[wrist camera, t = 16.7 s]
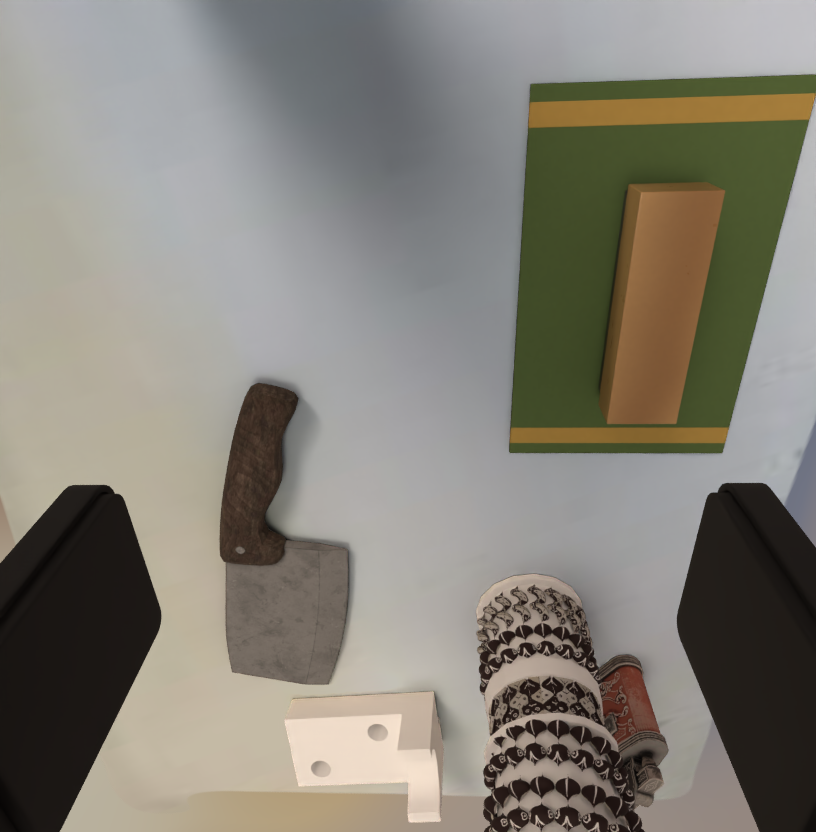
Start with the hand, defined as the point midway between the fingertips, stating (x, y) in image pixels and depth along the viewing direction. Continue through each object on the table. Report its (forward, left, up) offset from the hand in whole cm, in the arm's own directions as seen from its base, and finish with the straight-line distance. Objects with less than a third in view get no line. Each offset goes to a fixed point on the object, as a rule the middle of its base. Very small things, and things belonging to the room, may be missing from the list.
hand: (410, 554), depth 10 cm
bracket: (+33, -31, -28) cm, 53 cm away
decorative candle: (+30, -12, -28) cm, 43 cm away
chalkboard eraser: (+11, +7, -28) cm, 31 cm away
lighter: (+41, -11, -28) cm, 51 cm away
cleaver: (+14, -24, -28) cm, 40 cm away
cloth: (+11, +7, -28) cm, 31 cm away
